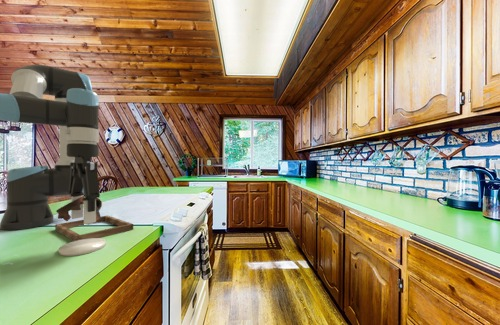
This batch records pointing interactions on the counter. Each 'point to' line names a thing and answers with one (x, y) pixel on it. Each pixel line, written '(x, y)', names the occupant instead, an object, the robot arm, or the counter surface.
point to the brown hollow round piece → (76, 208)
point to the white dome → (82, 247)
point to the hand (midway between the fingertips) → (83, 220)
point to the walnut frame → (75, 236)
